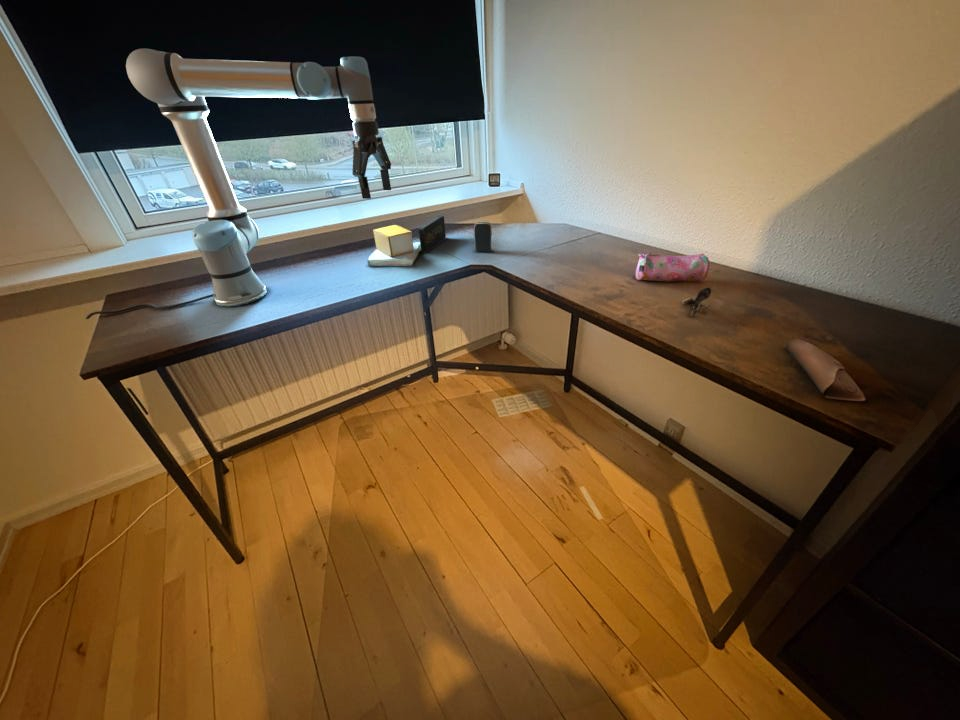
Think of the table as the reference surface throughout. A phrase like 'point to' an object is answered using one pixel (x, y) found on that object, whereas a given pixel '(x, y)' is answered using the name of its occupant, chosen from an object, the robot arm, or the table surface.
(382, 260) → the block
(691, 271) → the pencil case
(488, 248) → the battery charger
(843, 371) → the sunglasses case
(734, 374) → the table surface
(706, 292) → the eagle figurine
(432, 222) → the nameplate
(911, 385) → the table surface
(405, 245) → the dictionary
